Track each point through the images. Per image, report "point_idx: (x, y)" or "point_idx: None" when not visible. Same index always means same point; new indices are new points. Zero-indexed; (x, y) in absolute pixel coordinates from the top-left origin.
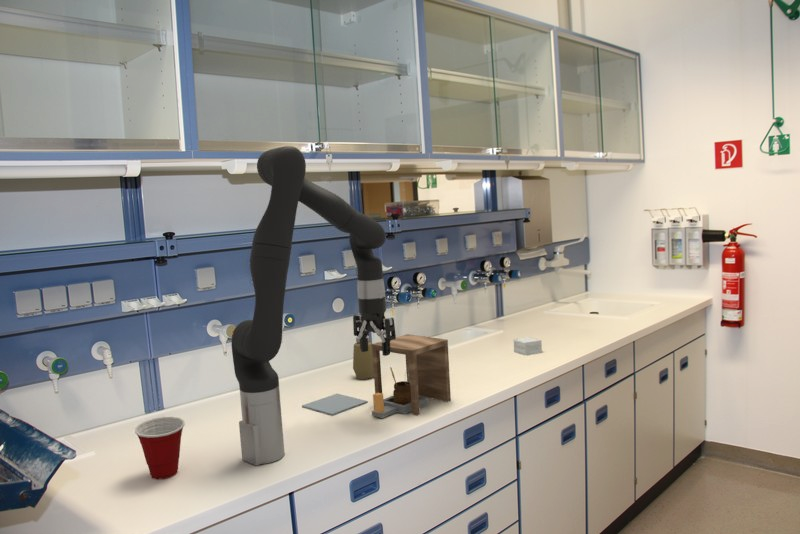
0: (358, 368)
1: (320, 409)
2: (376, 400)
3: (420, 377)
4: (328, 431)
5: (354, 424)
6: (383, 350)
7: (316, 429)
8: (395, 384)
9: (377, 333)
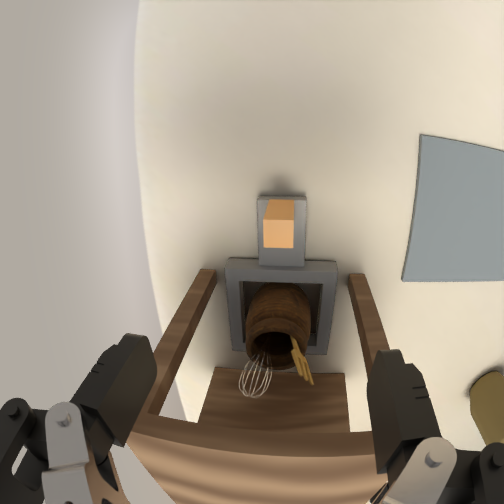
0: (500, 387)
1: (477, 153)
2: (275, 212)
3: (296, 411)
4: (319, 27)
5: (298, 111)
6: (116, 358)
7: (364, 22)
8: (292, 336)
9: (70, 483)
